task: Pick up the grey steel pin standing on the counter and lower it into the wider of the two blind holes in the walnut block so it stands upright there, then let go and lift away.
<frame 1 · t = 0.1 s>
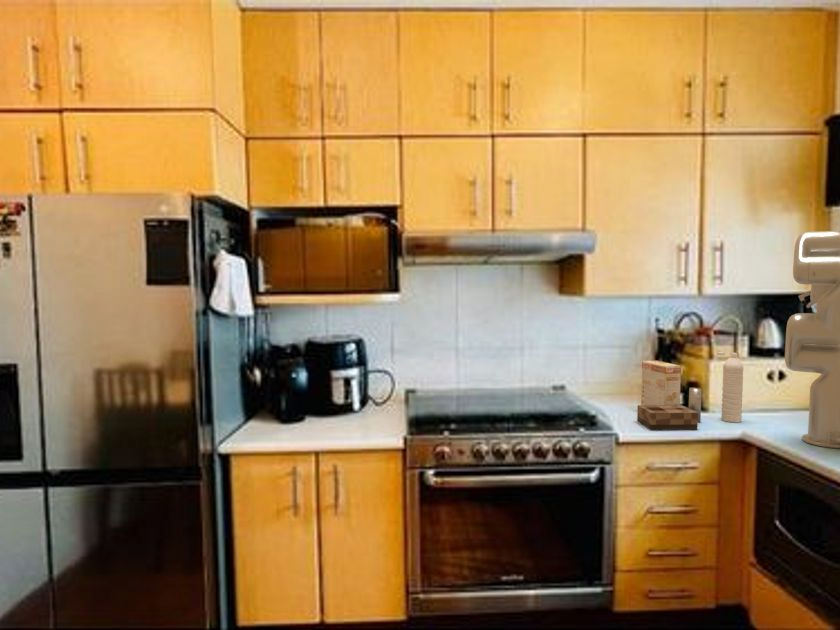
hand: (826, 319, 207), 37 cm above the countertop, tool pointing down, fingers open, 9 cm apart
walnut block: (666, 425, 203), on the countertop
water bottle: (727, 420, 211), on the countertop
steel pin: (694, 421, 210), on the countertop
coffeecake box: (659, 413, 222), on the countertop
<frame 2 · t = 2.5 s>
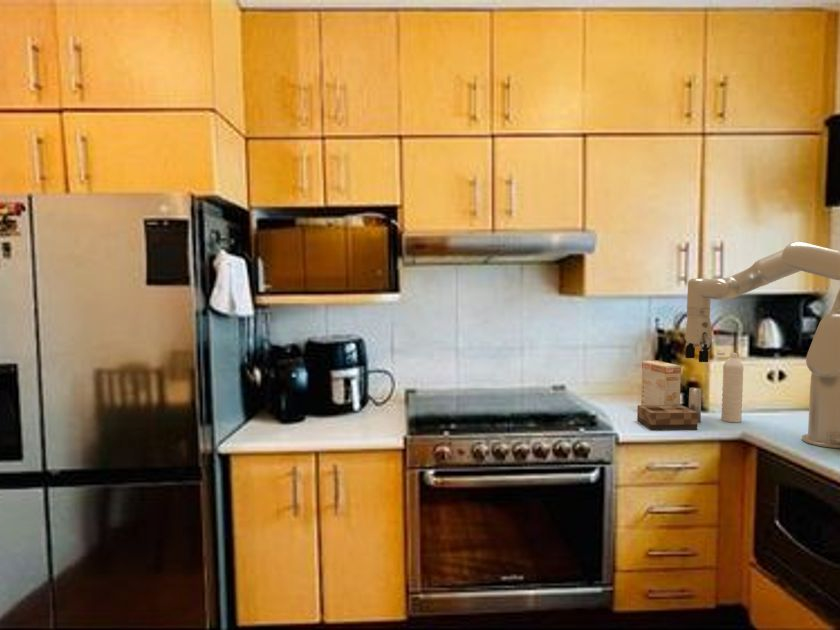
hand: (696, 360, 208), 22 cm above the countertop, tool pointing down, fingers open, 9 cm apart
nothing on the countertop moved.
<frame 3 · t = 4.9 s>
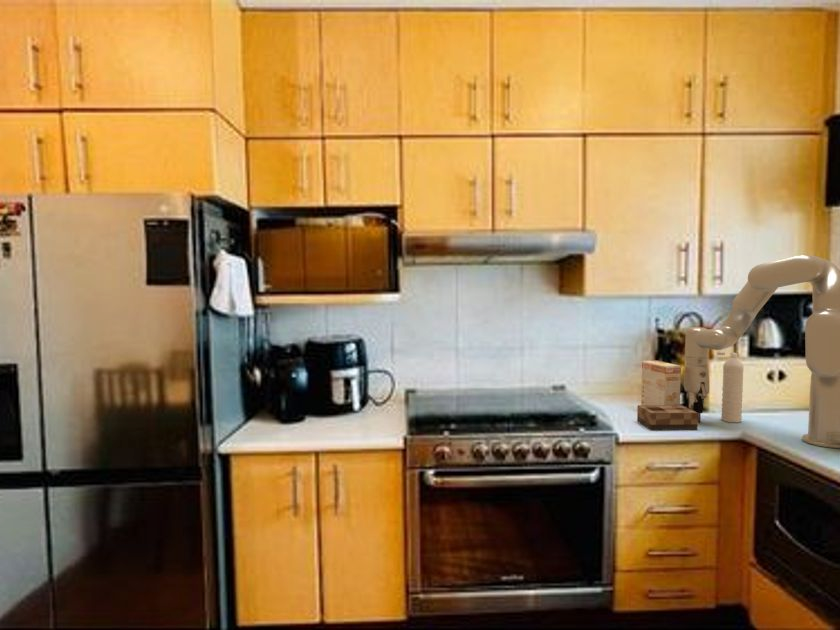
hand: (694, 410, 209), 4 cm above the countertop, tool pointing down, fingers closed on steel pin, 4 cm apart
steel pin: (694, 421, 210), on the countertop, touching gripper
everything else where it was.
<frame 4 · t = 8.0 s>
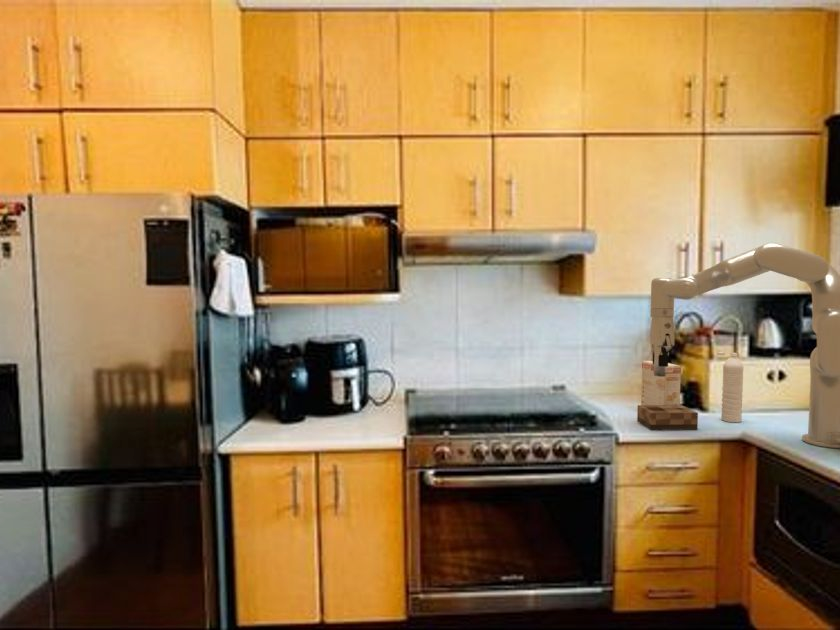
hand: (660, 364, 202), 22 cm above the countertop, tool pointing down, fingers closed on steel pin, 4 cm apart
steel pin: (659, 375, 203), point 18 cm above the countertop, touching gripper
everything else where it was.
when the fingers open (8 cm above the countertop, at t = 11.1 s): steel pin drops 2 cm, resting on walnut block.
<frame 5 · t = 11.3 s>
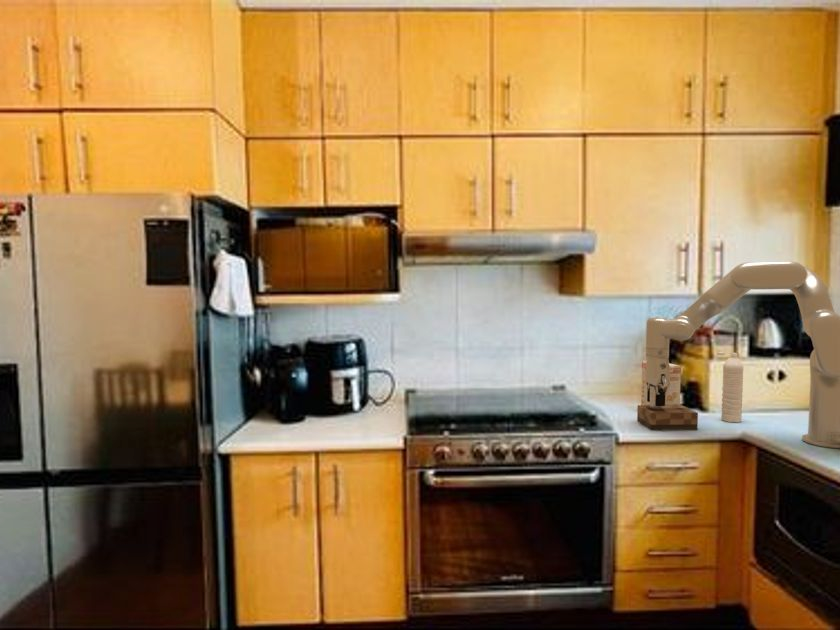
hand: (655, 403, 203), 8 cm above the countertop, tool pointing down, fingers open, 6 cm apart
steel pin: (655, 420, 203), point 2 cm above the countertop, touching walnut block
everything else where it was.
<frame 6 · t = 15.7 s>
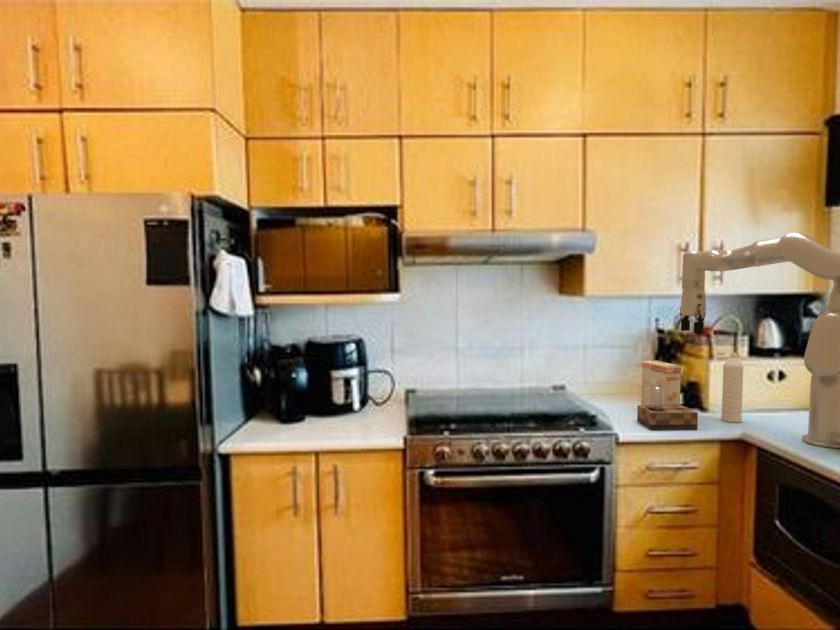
hand: (691, 331, 211), 32 cm above the countertop, tool pointing down, fingers open, 9 cm apart
nothing on the countertop moved.
at the end: steel pin 0.1 cm from the target spot on the walnut block, point 2.1 cm above the walnut block's base; steel pin tilted 3°; the gripper is holding nothing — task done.
